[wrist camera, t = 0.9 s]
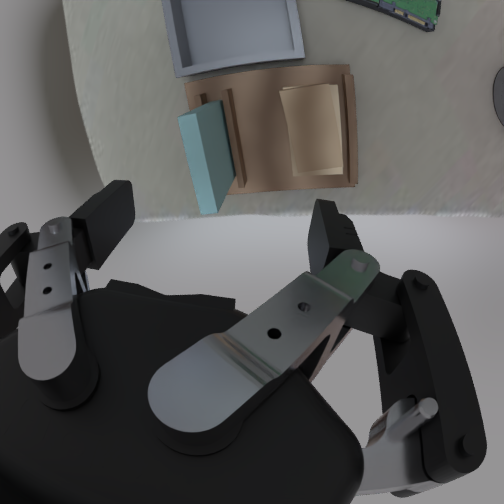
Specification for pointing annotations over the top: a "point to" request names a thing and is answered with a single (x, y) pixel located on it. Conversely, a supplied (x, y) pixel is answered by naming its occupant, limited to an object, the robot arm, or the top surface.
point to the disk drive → (408, 11)
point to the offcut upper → (312, 127)
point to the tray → (231, 33)
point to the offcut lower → (337, 113)
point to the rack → (276, 125)
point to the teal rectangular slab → (208, 154)
